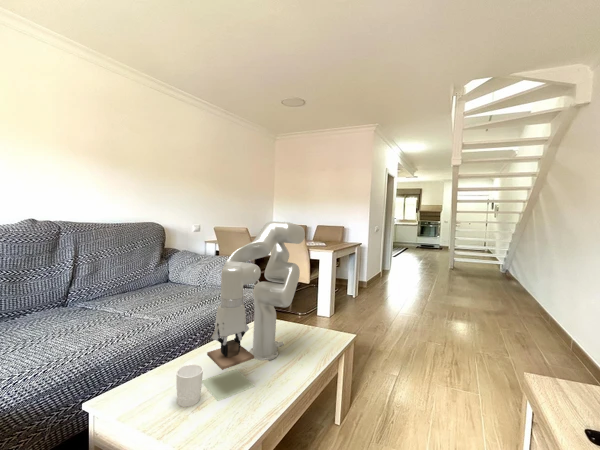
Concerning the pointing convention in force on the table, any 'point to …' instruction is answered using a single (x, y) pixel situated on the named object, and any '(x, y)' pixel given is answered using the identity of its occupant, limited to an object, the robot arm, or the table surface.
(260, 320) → the robot arm
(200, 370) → the white cup
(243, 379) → the mat
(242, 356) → the lid
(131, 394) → the table surface
